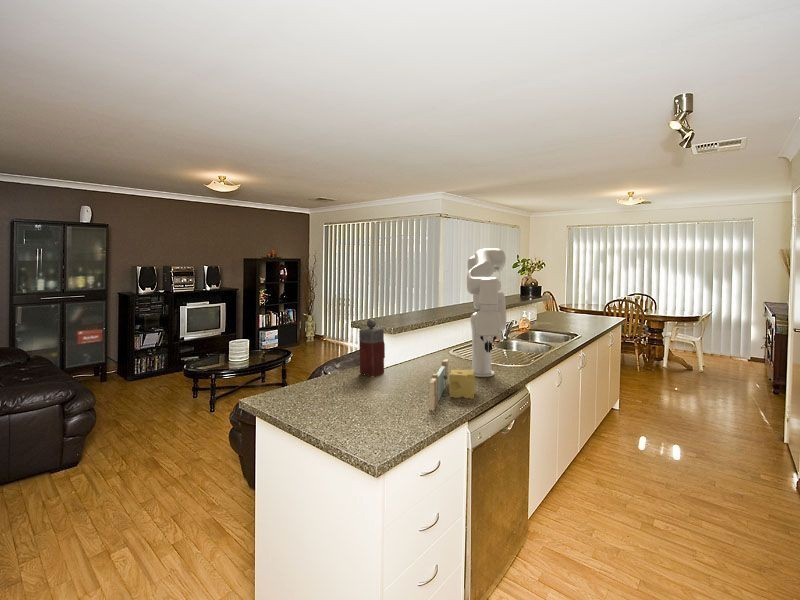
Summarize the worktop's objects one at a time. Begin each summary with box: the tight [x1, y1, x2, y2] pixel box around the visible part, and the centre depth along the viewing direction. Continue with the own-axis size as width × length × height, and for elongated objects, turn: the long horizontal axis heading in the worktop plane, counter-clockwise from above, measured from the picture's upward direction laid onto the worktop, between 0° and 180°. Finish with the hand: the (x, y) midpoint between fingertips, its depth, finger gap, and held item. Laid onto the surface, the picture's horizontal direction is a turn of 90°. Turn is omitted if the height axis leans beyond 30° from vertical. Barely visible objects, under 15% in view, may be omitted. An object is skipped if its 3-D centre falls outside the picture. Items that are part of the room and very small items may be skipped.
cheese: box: [448, 369, 476, 400], centre depth 183 cm, size 10×11×10 cm
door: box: [436, 365, 447, 402], centre depth 183 cm, size 20×4×10 cm, turn 166°
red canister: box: [358, 318, 386, 377], centre depth 219 cm, size 9×11×28 cm
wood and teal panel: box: [429, 358, 449, 412], centre depth 183 cm, size 40×2×12 cm, turn 166°
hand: (488, 351), depth 179 cm, fingers closed
